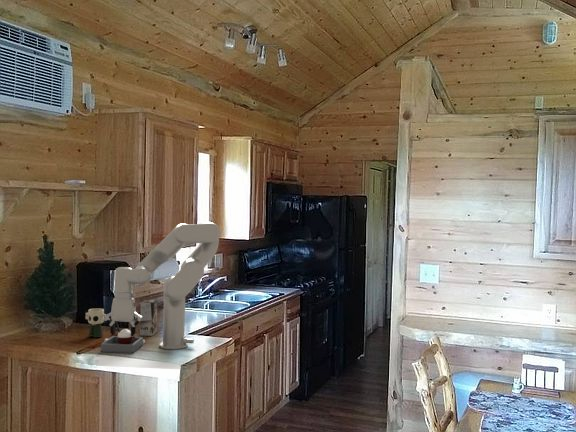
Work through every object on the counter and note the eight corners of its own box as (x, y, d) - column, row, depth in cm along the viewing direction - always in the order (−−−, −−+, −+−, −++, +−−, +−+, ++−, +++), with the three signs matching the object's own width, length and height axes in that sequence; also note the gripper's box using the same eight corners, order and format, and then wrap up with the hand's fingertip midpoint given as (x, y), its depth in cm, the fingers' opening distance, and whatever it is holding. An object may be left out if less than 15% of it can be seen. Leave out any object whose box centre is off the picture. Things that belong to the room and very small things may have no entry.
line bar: (144, 343, 281) (145, 340, 281) (143, 344, 279) (143, 341, 279) (106, 341, 282) (106, 338, 282) (104, 342, 280) (104, 339, 280)
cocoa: (136, 344, 272) (138, 317, 272) (128, 347, 266) (130, 319, 266) (118, 341, 275) (120, 314, 275) (110, 344, 269) (111, 316, 269)
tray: (143, 344, 278) (143, 337, 278) (133, 353, 263) (133, 345, 263) (112, 343, 278) (112, 336, 278) (100, 352, 263) (101, 343, 263)
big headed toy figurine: (81, 337, 288) (81, 310, 288) (89, 334, 295) (89, 307, 295) (102, 339, 286) (102, 311, 285) (109, 336, 293) (110, 309, 292)
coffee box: (152, 336, 295) (153, 302, 295) (139, 335, 295) (140, 302, 295) (157, 331, 304) (157, 299, 304) (144, 331, 305) (144, 299, 304)
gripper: (145, 294, 273) (144, 333, 274) (107, 293, 274) (106, 332, 275) (140, 297, 266) (140, 337, 266) (101, 296, 267) (100, 336, 267)
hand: (123, 334), depth 270 cm, fingers closed on cocoa, 8 cm apart
